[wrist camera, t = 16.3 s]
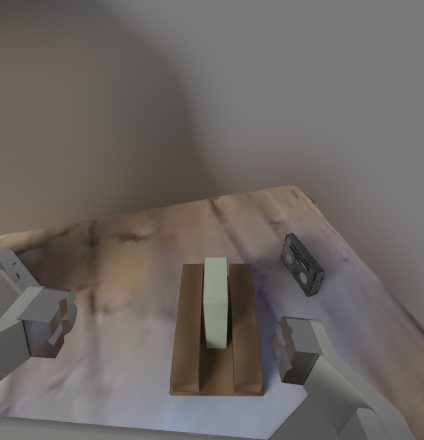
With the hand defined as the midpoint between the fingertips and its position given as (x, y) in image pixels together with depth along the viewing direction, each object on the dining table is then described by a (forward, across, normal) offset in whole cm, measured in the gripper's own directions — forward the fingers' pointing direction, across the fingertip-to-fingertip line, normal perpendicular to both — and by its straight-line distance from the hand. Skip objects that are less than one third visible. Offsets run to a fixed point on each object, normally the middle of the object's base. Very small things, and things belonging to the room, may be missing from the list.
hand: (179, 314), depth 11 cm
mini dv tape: (+28, -18, +18) cm, 38 cm away
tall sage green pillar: (+19, -6, +22) cm, 29 cm away
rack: (+19, -6, +23) cm, 30 cm away
